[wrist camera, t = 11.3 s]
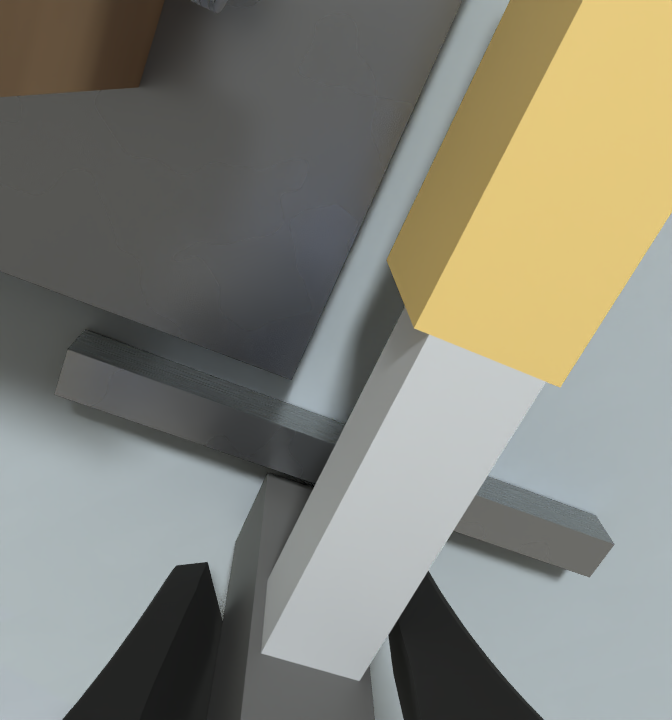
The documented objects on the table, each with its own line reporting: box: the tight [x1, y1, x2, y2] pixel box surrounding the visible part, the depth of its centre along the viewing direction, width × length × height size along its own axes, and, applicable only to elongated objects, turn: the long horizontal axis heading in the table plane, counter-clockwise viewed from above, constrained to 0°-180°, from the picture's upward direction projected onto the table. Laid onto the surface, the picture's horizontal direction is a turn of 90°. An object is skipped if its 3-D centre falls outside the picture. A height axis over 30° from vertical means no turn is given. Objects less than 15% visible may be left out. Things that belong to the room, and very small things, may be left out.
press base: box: [0, 0, 614, 577], centre depth 10 cm, size 20×14×1 cm
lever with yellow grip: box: [207, 0, 672, 720], centre depth 9 cm, size 2×14×6 cm, turn 157°
